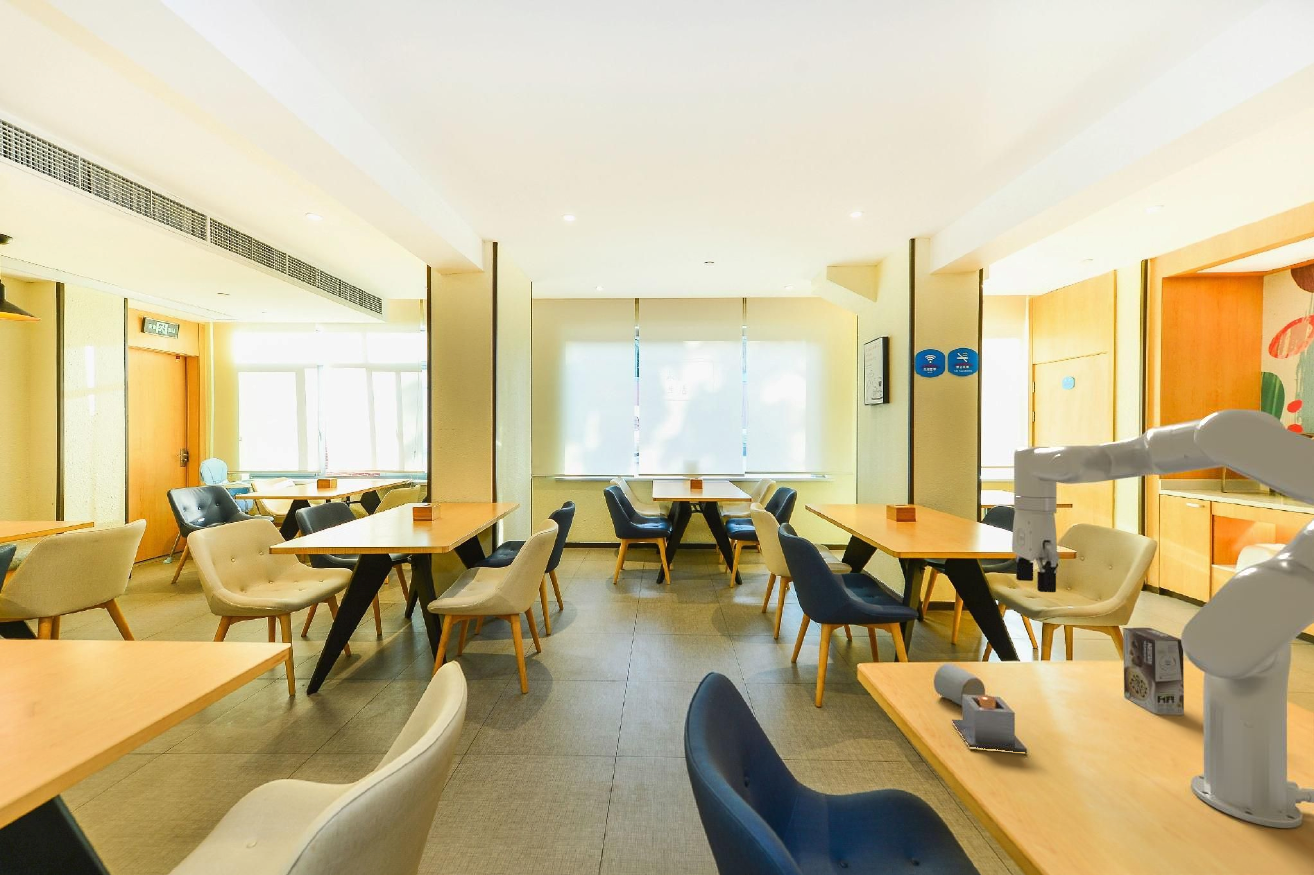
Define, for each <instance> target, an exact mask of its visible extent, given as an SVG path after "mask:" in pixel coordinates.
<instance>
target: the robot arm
mask: <svg viewBox="0 0 1314 875" xmlns="http://www.w3.org/2000/svg"><path fill="white" fill-rule="evenodd" d="M1223 467H1224V468H1227V469H1229V470H1231V471H1233V472H1235V473H1237V474H1239V475H1241V476H1243V477H1244V478H1245V477H1246V478H1248V479H1250V480H1252V481H1253V482H1256V483H1258V484H1260V485H1263V486H1265V487H1267V488H1269V489H1271V490H1273V491H1276V492H1277V493H1280V494H1282V495H1284V496H1286V497H1288V498H1291V499H1294V500H1296V501H1297V502H1300V503H1304V504H1306V505H1310V506H1314V439H1313V438H1311V437H1308V436H1305V435H1302V434H1300V433H1297V432H1295V431H1293V430H1290V429H1288V428H1286V427H1285V425H1284V424H1283V422H1282V421H1281V420H1280V419H1279V418H1277V416H1274V415H1273V414H1270V413H1269V412H1265V411H1261V410H1255V409H1238V408H1236V409H1235V408H1234V409H1233V408H1232V409H1226V410H1225V409H1223V410H1219V411H1215V412H1214V413H1211V414H1209V415H1208V416H1206V417H1205V418H1200V419H1199V418H1198V419H1195V420H1190V421H1184V422H1179V423H1173V424H1167V425H1162V426H1156V427H1152V428H1149V429H1148V430H1147V429H1146V431H1145V432H1143V434H1141V435H1138V436H1135V437H1132V438H1128V439H1124V440H1123V439H1121V440H1118V441H1112V442H1107V443H1106V442H1105V443H1100V444H1095V445H1093V444H1092V445H1063V446H1054V447H1050V446H1020V447H1017V448H1016V449H1015V451H1014V453H1013V481H1014V484H1013V489H1014V490H1013V494H1014V495H1013V496H1014V497H1013V511H1014V515H1013V516H1014V517H1013V522H1012V523H1013V524H1012V539H1011V540H1012V541H1011V550H1012V552H1013V554H1014V555H1015V562H1016V563H1015V569H1016V572H1015V573H1016V575H1015V576H1016V577H1015V578H1016V581H1020V582H1021V581H1022V582H1023V581H1024V582H1025V581H1026V582H1033V581H1034V561H1035V560H1036V564H1037V566H1038V571H1037V573H1036V574H1037V577H1036V578H1037V582H1036V584H1037V586H1036V587H1037V591H1038V592H1039V593H1056V592H1057V572H1058V567H1059V559H1060V554H1059V552H1058V542H1057V541H1058V539H1057V536H1058V535H1057V526H1056V518H1055V517H1056V516H1055V514H1057V511H1058V510H1057V508H1058V507H1057V500H1058V499H1057V496H1058V495H1057V483H1058V484H1067V485H1069V484H1070V485H1072V484H1073V485H1075V484H1084V483H1085V484H1086V483H1089V484H1090V483H1091V484H1092V483H1098V482H1099V483H1102V482H1107V481H1115V480H1116V481H1117V480H1122V479H1128V478H1137V477H1143V476H1151V475H1152V476H1153V475H1155V476H1164V475H1170V474H1179V473H1185V472H1193V471H1199V470H1207V469H1208V470H1209V469H1216V468H1223ZM1312 624H1314V517H1313V518H1312V519H1311V520H1310V521H1309V522H1307V523H1306V524H1305V525H1304V526H1303V527H1302V528H1301V529H1300V530H1299V531H1298V532H1297V533H1296V534H1295V536H1294V537H1293V538H1291V540H1290V541H1288V543H1287V544H1285V546H1284V547H1283V548H1282V549H1280V550H1279V551H1278V552H1277V553H1276V554H1275V555H1273V557H1270V558H1269V559H1266V560H1265V561H1262V562H1259V563H1255V564H1252V565H1249V566H1247V567H1245V568H1243V569H1241V570H1240V571H1239V572H1237V573H1235V574H1234V575H1233V576H1232V577H1230V578H1229V579H1228V581H1226V582H1225V583H1224V584H1223V585H1222V587H1221V588H1219V589H1218V590H1217V592H1216V593H1214V595H1213V596H1212V597H1211V598H1210V599H1209V600H1208V601H1206V603H1205V604H1204V605H1203V606H1202V607H1201V608H1200V609H1199V610H1198V611H1197V613H1196V614H1194V615H1193V616H1192V617H1191V618H1190V620H1189V621H1188V622H1187V623H1186V624H1185V626H1184V628H1183V630H1182V633H1181V637H1180V639H1181V643H1182V648H1183V654H1185V656H1186V658H1187V659H1188V660H1189V661H1190V663H1191V664H1192V665H1193V666H1195V667H1196V668H1197V669H1199V670H1200V671H1202V672H1204V674H1203V689H1202V690H1203V701H1202V702H1203V705H1202V706H1203V707H1202V708H1203V709H1202V710H1203V714H1202V715H1203V774H1199V775H1195V776H1194V777H1192V778H1191V779H1190V787H1191V790H1192V791H1193V793H1194V794H1195V795H1196V796H1197V797H1198V798H1199V799H1201V800H1202V801H1203V802H1205V803H1206V804H1207V805H1209V806H1211V807H1213V808H1215V809H1216V810H1218V811H1221V812H1223V813H1225V814H1227V815H1230V816H1233V817H1235V818H1237V819H1240V820H1242V821H1247V822H1248V823H1249V822H1250V823H1253V824H1258V825H1261V826H1266V827H1271V828H1279V829H1280V828H1281V829H1289V828H1290V829H1292V828H1297V827H1299V826H1301V825H1302V823H1303V814H1302V812H1301V810H1300V808H1299V807H1297V806H1296V804H1301V803H1302V802H1306V803H1311V804H1314V788H1305V787H1304V788H1299V785H1298V783H1297V782H1296V781H1291V780H1288V734H1287V733H1288V732H1287V731H1288V730H1287V729H1288V727H1287V724H1288V719H1287V718H1288V687H1289V686H1288V684H1289V676H1290V669H1291V662H1292V644H1291V642H1292V641H1293V640H1295V639H1296V638H1297V637H1298V636H1299V635H1301V633H1303V632H1304V631H1305V630H1306V629H1307V628H1308V627H1310V626H1311V625H1312Z"/></svg>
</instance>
